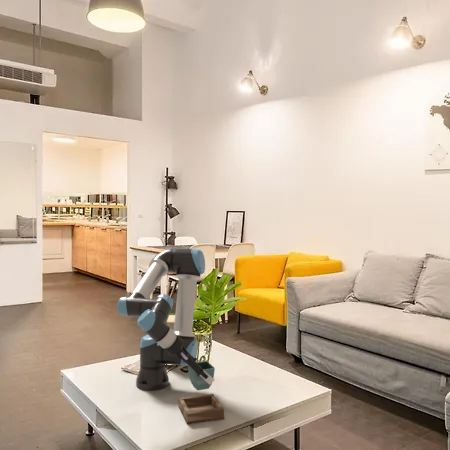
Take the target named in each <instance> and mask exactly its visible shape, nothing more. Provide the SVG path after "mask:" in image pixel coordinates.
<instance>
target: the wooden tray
mask: <svg viewBox="0 0 450 450" xmlns="http://www.w3.org/2000/svg"><path fill="white" fill-rule="evenodd" d="M178 409H179V412H180V414H181V415H182V417H183V419H184V421H185V424H186V425H193V424H200V423H201V424H202V423H207V422H214V421H222V420H225V408H224V407H223V405H222V404H221V403H220V401H219V400H218V398H217V397H216V396H215V393H210V394H209V393H208V394H203V395H194V396H192V395H191V396H185V397H179V398H178Z"/></svg>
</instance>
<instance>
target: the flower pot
mask: <svg viewBox="0 0 450 450" xmlns="http://www.w3.org/2000/svg"><path fill="white" fill-rule="evenodd" d="M197 364H198V365H199V366H200V367H201V368H202V369H204V370H205V371H206V372H207V373H208V374H209V375H210V376H211V377H212V378H213V379H214V378H215V371H216V367H214V366H213V365H212V364H211V363H210V362H209V361H198V363H197ZM187 370H188V371H187V372H188V378H189V380H190V384H192V386H193V388H194V389H195V390H196V391H202V390H208V389H210V387H211V386H212V384H213V382H212V383H211V385H209V384H208V383H207V382H206V381H205V380H204V379H203V378H202V377H201V376H197V375H198V374H197V373H196V372H195V371H194V370H193V369H192V368H191V367H190V366H189V365H188V366H187Z"/></svg>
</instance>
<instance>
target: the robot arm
mask: <svg viewBox="0 0 450 450" xmlns="http://www.w3.org/2000/svg"><path fill="white" fill-rule="evenodd" d="M205 271H206V260H205V256H204V253H203V251H202V250H201V249H196V248H175V247H172V248H171V247H170V248H168V249H165V250H163V251H160V252H159V253H158V254H156V255H155V256H154V257H152V259H151V260H150V262H149V263H148V269H147V270H146V271H145V272H144V274H143V276H142V277H141V278H140V280H139V281H138V283H137V285H136V286H135V287H134V288H133V290H132V291H131V293H130V294H129V296H122V297H120V298H119V299H118V301H117V305H116V307H117V308H116V309H117V313H118V314H119V315H120V316H126V317H136V318H137V317H138V319H137V326H138V327H140V329H141V330H142V332H144V333H145V334H146V335H144V336H142V337H141V339H140V345H139V370H138V373H137V376H136V380H135V386H136V387H137V388H139V389H140V390H145V391H156V390H158V391H159V390H161V389H164V388H167V387H168V385H169V383H170V382H169V381H170V380H169V379H170V378H169V375H168V372H167V368H166V366H165V364H172V365H171V366H176V365H178V366H180V367H183V366H187V367H188V365H189V366H190V367H191V368H192V369H193V370H194V371H195V372H196V373H197V374H198V375H197V376H201V377H202V378H203V379H204V380H205V381H206V382H207V383H208V384H209V385H211V386H212V384H213V383H214V381H215V379H214V378H212V377H211V376H210V375H209V374H208V373H207V372H206V371H205V370H204V369H202V368H201V367H200V366H199V365H198V364H197V363H198V362H199V361H198V358H197V355H198V351H199V350H198V349H199V342H198V340H196V339H195V338H196V336H195V334H194V332H193V327H194V326H193V325H194V314H195V304H196V303H195V302H196V295H197V294H196V293H197V282H198V280H200V279H201V275H203V274H205ZM168 273H175V275H176V278H177V279H178V283H177V284H178V286H177V295H176V302H175V303H176V304H175V305H176V306H175V312H174V313H175V323H174V331H173V330H172V329H171V328H170V327H169V326H168V325H167V324H166V323H165V322H166V320H167V318H168V316H169V313H172V308H173V306H174V300H173V298H172V297H171V296H170V295H168V294H165V293H164V294H163V293H162V294H159V295H157V297H156V298H150V297H151V295H152V294H153V293H154V291H155V289H156V287H157V286H158V284H159V283H160V281H161V280H162V278H163V277H165V276H166V275H167V274H168ZM211 383H212V384H211Z"/></svg>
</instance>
